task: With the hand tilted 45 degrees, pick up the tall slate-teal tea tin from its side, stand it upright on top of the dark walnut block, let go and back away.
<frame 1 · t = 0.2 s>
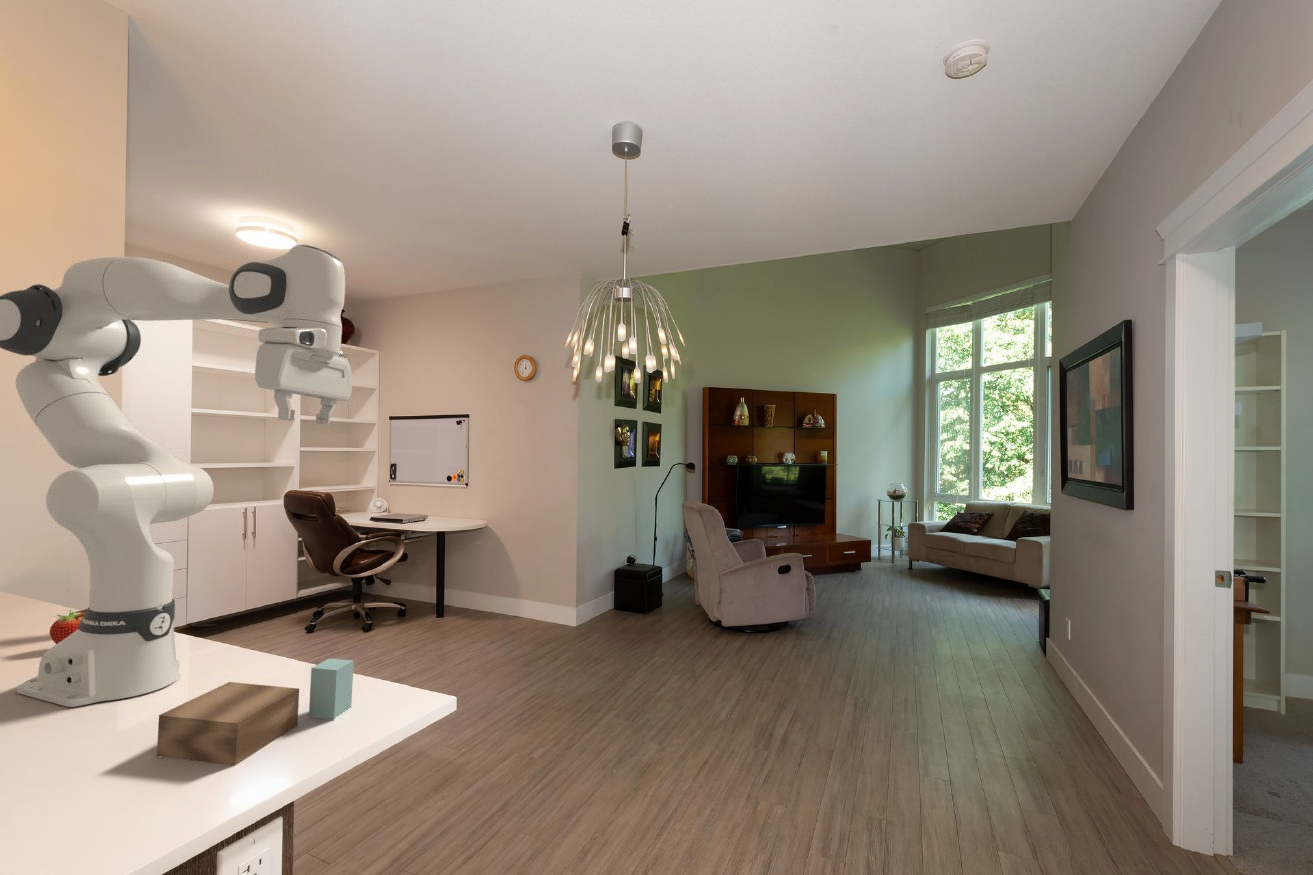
hand: (305, 422, 103), 48 cm above the table, tool pointing down, fingers open, 8 cm apart
fruit: (67, 650, 121), on the table
tea tin: (330, 712, 99), on the table
walnut block: (231, 741, 89), on the table
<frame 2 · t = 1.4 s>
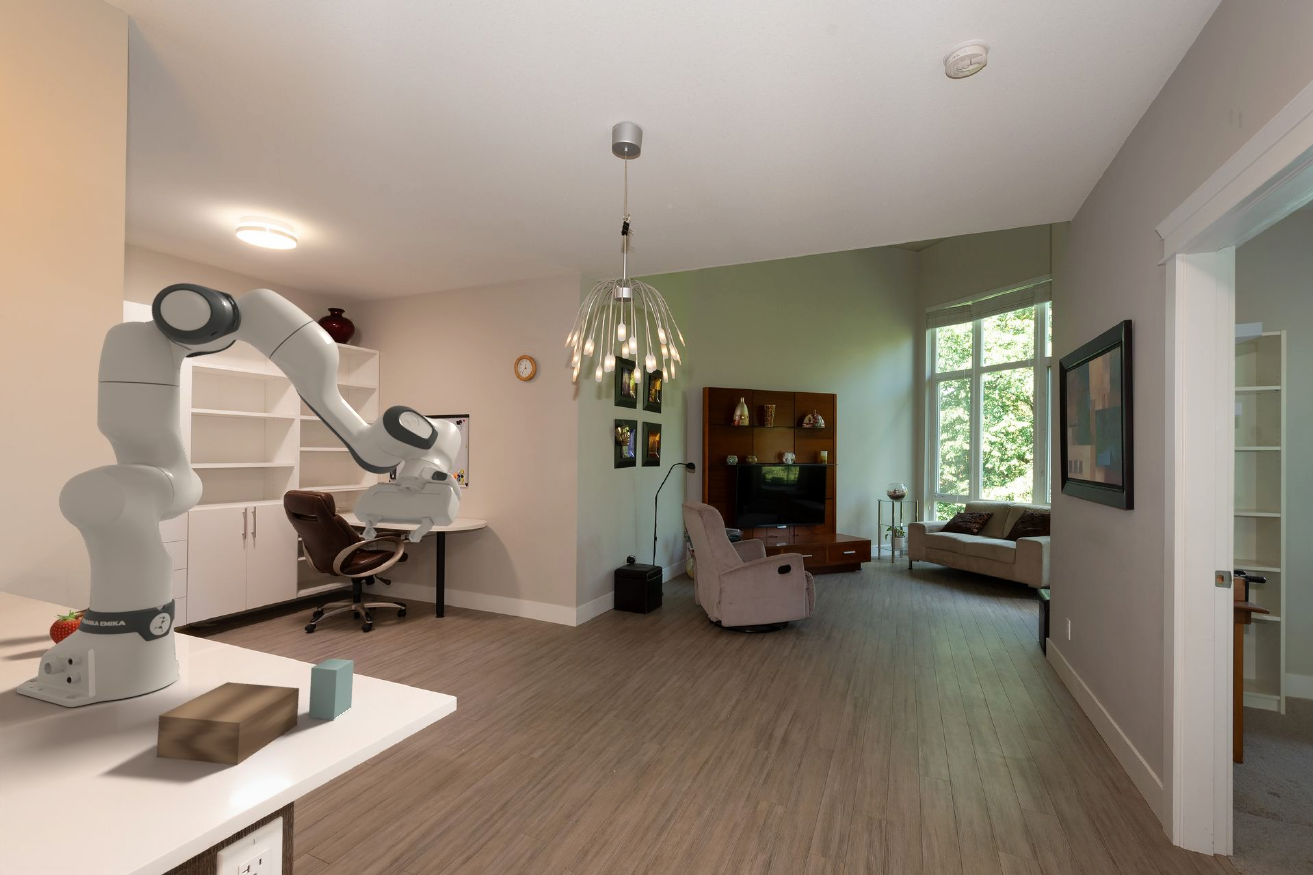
hand: (390, 539, 114), 26 cm above the table, tool tilted 45°, fingers open, 8 cm apart
nothing on the table moved.
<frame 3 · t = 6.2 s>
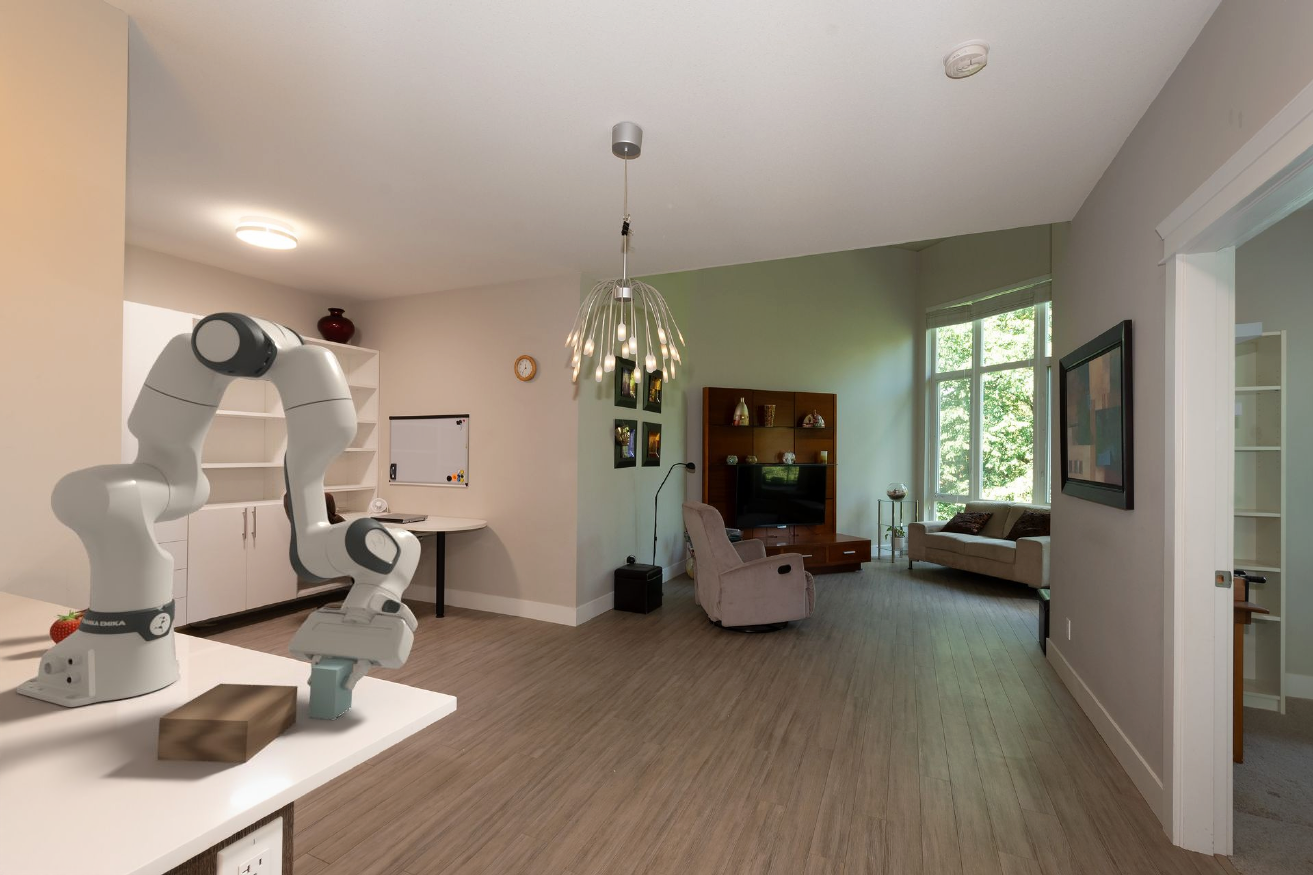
hand: (329, 687, 98), 4 cm above the table, tool tilted 45°, fingers closed on tea tin, 4 cm apart
tea tin: (330, 712, 99), on the table, touching gripper
everything else where it was.
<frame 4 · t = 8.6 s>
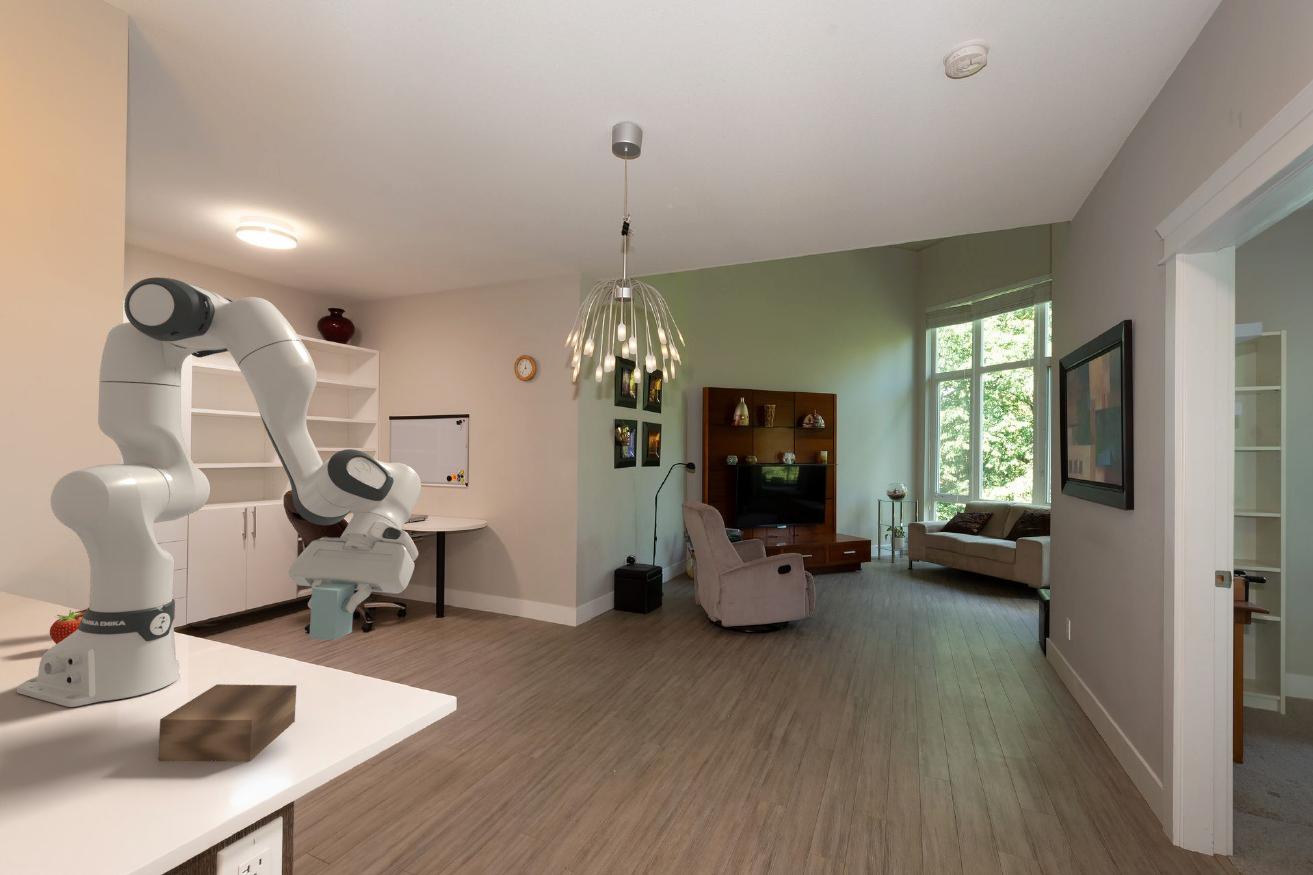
hand: (329, 609, 98), 17 cm above the table, tool tilted 45°, fingers closed on tea tin, 4 cm apart
tea tin: (331, 635, 99), point 13 cm above the table, touching gripper
everything else where it was.
when the fingers open (12 cm above the table, at t = 11.3 s): tea tin drops 2 cm, point 6 cm above the table.
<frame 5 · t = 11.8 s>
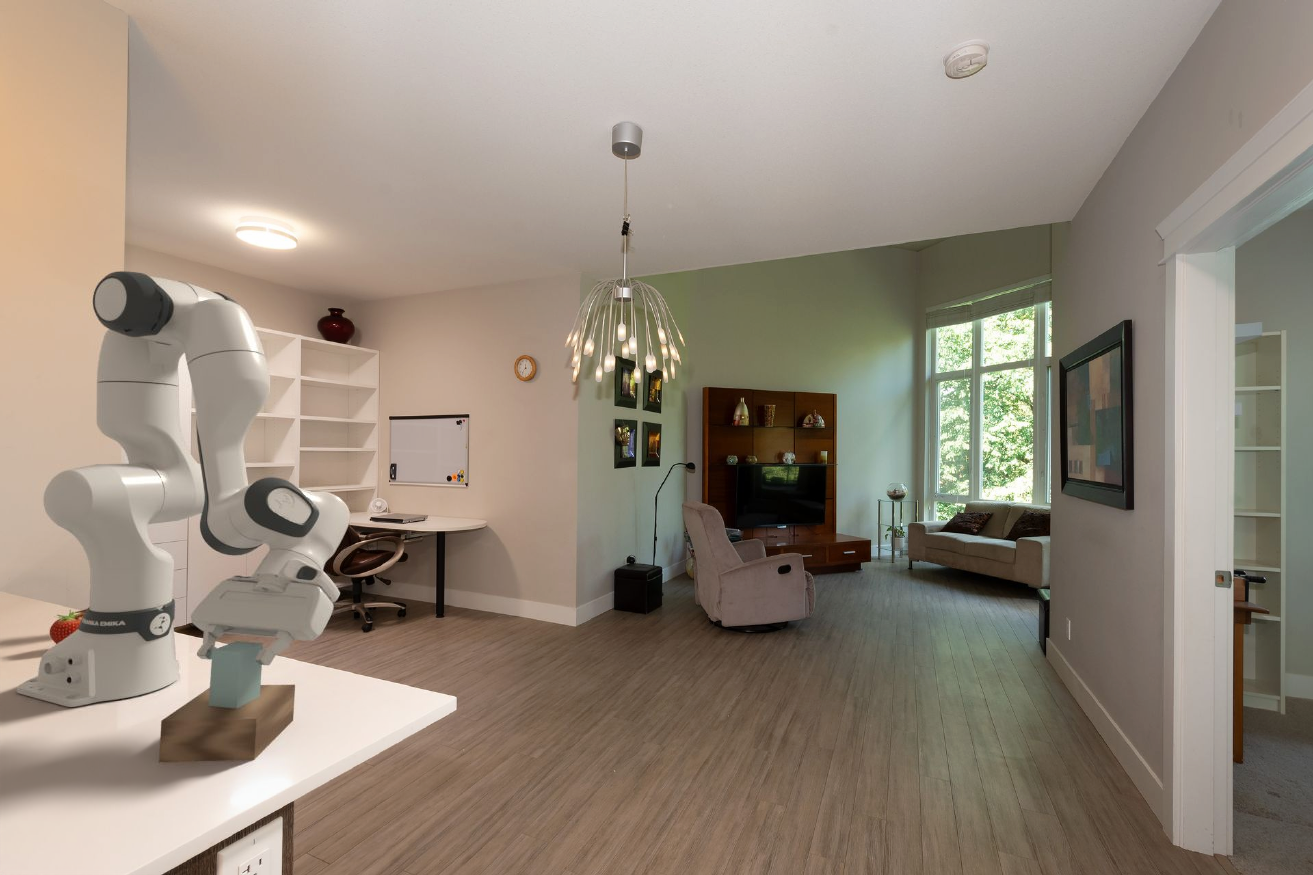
hand: (232, 660, 88), 12 cm above the table, tool tilted 45°, fingers open, 8 cm apart
tea tin: (234, 700, 89), point 6 cm above the table
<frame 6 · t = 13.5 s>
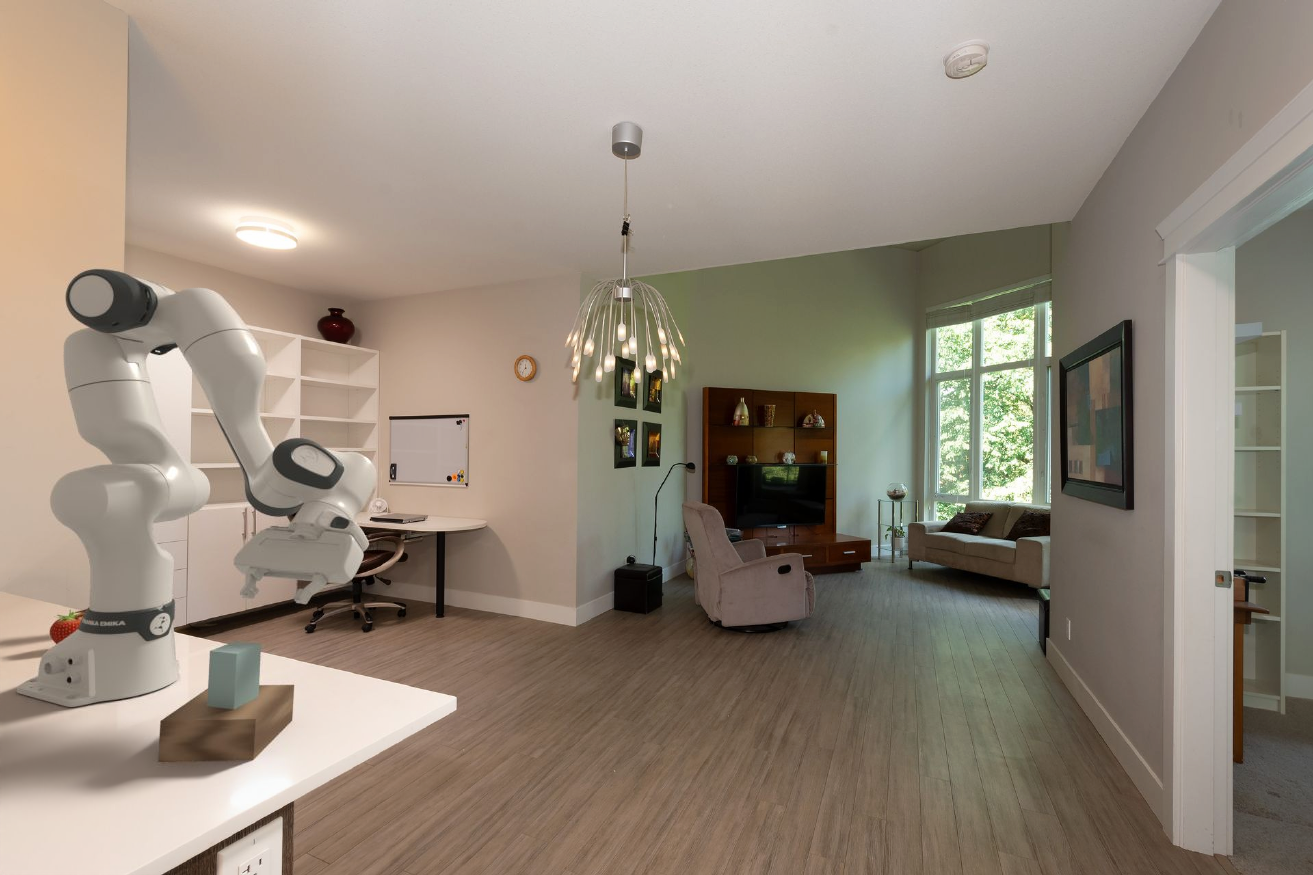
hand: (272, 599, 96), 19 cm above the table, tool tilted 45°, fingers open, 8 cm apart
tea tin: (233, 701, 89), point 6 cm above the table, touching walnut block
walnut block: (230, 742, 89), on the table, touching tea tin
everything else where it was.
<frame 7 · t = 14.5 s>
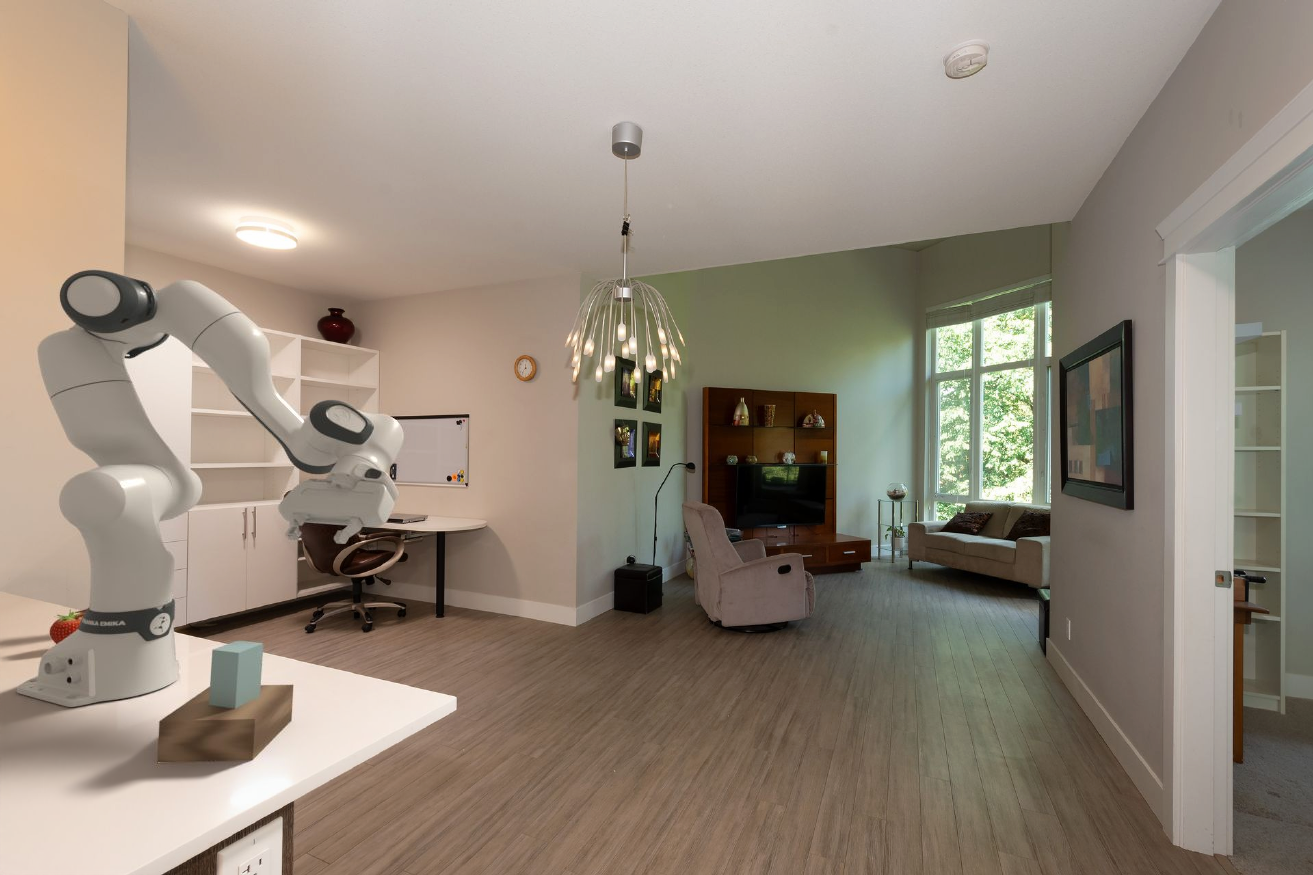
hand: (314, 539, 106), 27 cm above the table, tool tilted 45°, fingers open, 8 cm apart
nothing on the table moved.
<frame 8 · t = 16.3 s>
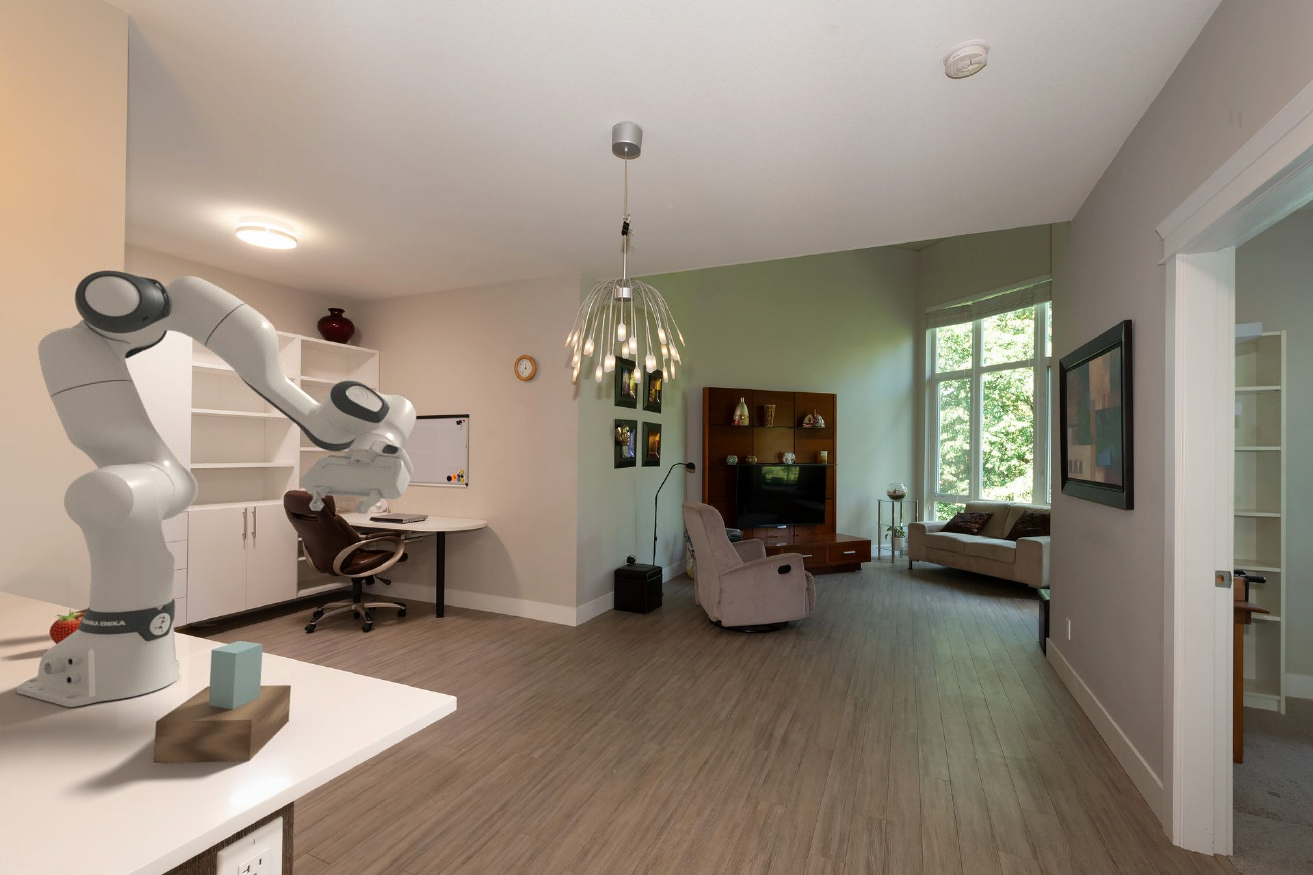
hand: (337, 510, 114), 31 cm above the table, tool tilted 45°, fingers open, 8 cm apart
tea tin: (234, 701, 89), point 6 cm above the table
walnut block: (226, 742, 88), on the table
everything else where it was.
at the end: tea tin inside the target area on the walnut block (0.7 cm from its centre), point 6.0 cm above the walnut block's base; tea tin tilted 0°; the gripper is holding nothing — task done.
